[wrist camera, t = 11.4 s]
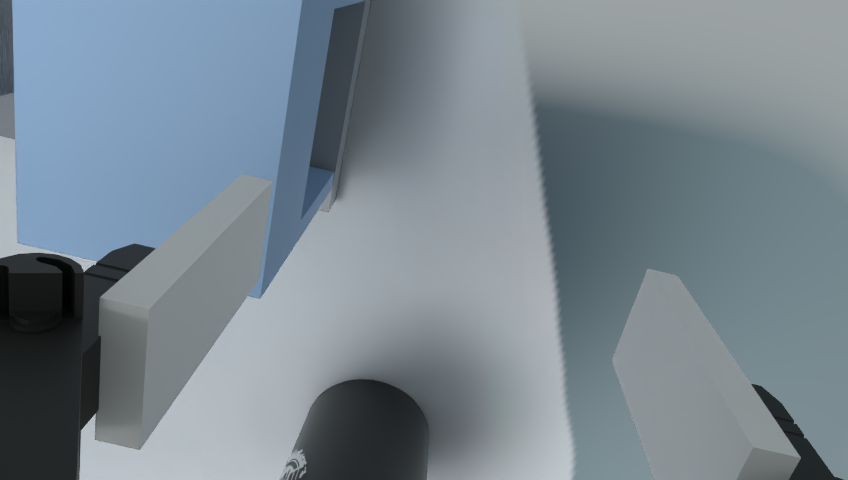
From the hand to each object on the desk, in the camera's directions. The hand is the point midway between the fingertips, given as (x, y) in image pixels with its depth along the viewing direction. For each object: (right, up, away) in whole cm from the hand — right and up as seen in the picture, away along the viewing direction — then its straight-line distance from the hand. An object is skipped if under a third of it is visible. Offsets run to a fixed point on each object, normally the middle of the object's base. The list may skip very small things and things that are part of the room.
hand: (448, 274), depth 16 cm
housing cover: (-9, +10, +18) cm, 22 cm away
